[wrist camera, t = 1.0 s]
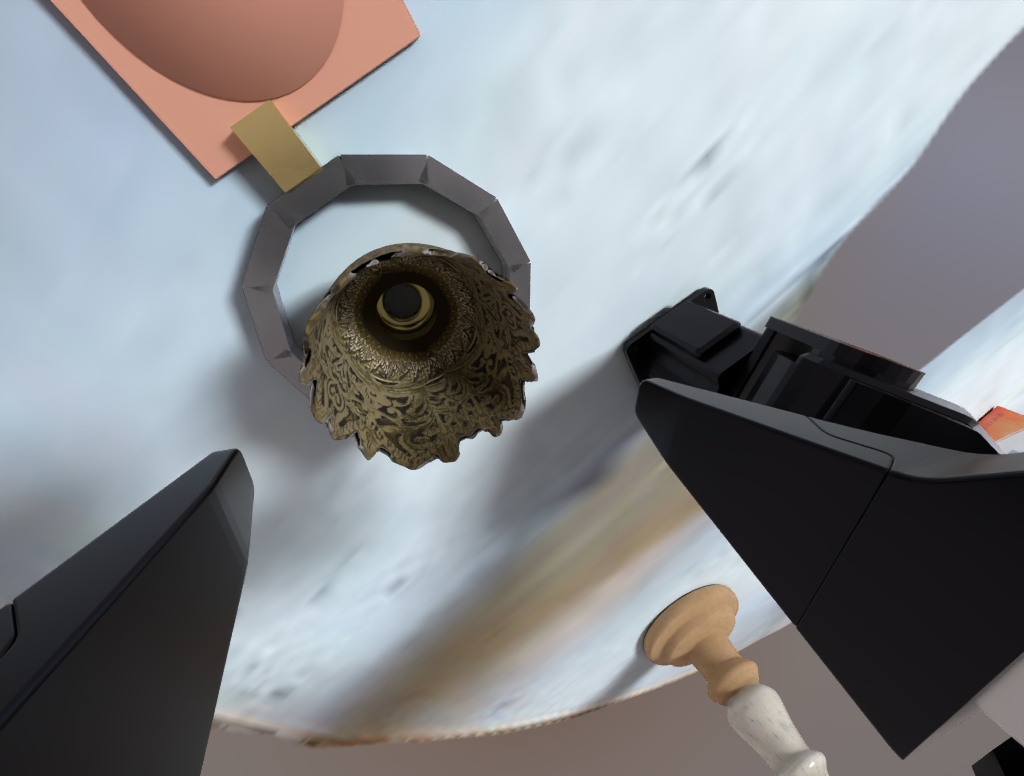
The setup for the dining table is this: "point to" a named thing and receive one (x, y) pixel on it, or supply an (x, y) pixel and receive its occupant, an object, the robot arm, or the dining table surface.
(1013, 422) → the cracker box
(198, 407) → the dining table surface
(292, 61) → the coaster
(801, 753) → the candle holder
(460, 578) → the dining table surface
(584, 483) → the dining table surface
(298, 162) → the collar
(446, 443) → the cup
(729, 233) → the dining table surface
